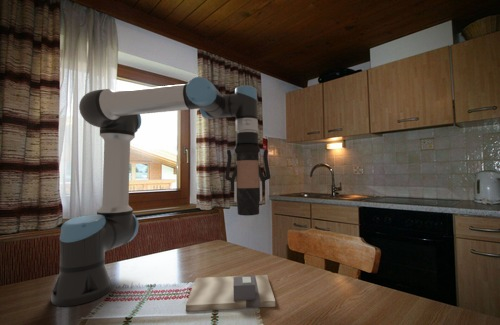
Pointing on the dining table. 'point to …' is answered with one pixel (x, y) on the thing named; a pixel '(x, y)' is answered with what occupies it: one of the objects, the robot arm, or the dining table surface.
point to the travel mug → (247, 183)
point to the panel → (227, 294)
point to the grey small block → (244, 288)
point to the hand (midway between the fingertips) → (248, 201)
